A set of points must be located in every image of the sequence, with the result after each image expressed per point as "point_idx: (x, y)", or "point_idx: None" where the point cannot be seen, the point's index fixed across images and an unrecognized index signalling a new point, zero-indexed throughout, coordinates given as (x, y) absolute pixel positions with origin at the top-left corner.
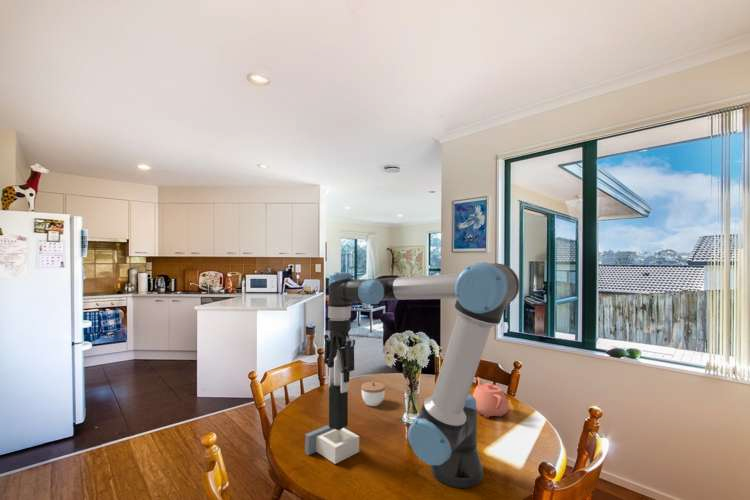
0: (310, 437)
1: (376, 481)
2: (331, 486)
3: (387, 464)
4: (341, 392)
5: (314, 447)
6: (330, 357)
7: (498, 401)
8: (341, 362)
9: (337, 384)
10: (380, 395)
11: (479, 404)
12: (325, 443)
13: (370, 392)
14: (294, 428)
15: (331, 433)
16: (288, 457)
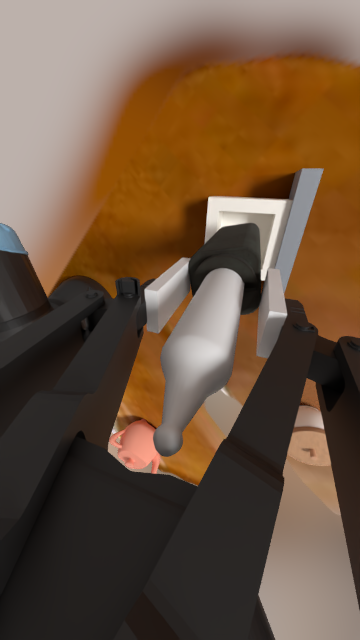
0: (299, 176)
1: (131, 216)
2: (169, 135)
3: (151, 265)
4: (184, 258)
5: (291, 193)
6: (276, 365)
7: (115, 436)
8: (123, 322)
9: (209, 273)
10: None
11: (140, 432)
12: (249, 198)
13: (303, 426)
14: None
15: (268, 243)
16: (344, 115)
